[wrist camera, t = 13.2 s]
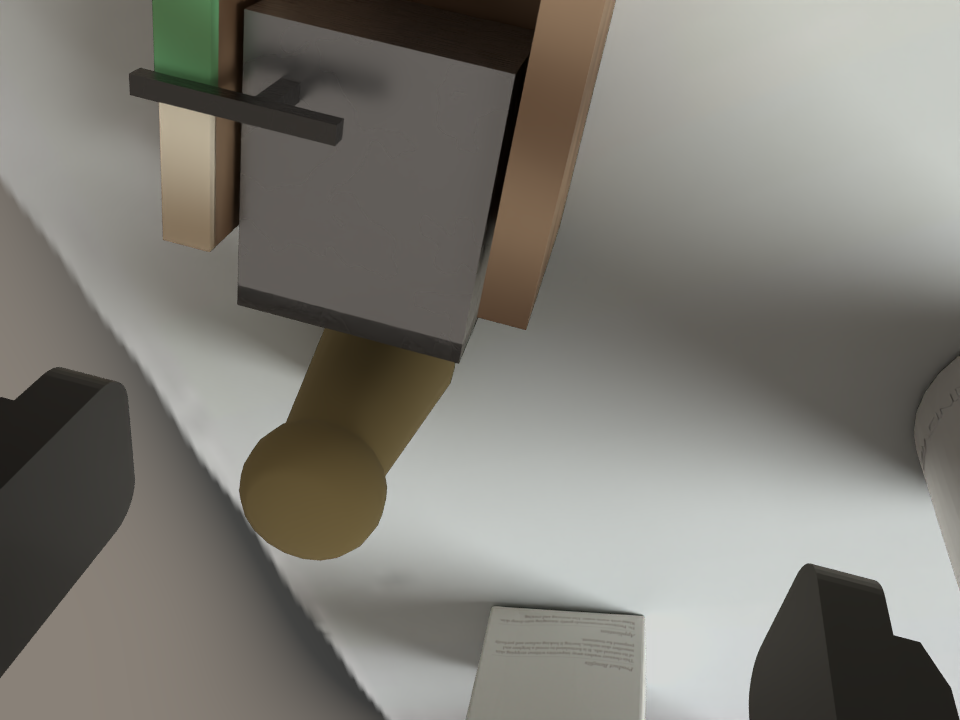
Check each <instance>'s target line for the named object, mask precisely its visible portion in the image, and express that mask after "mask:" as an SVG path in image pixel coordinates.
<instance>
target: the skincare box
mask: <svg viewBox="0 0 960 720" xmlns="http://www.w3.org/2000/svg"><path fill="white" fill-rule="evenodd" d="M645 712H646V637H645V618H644V616H637V615H620V614H603V613H588V612H573V611H557V610H542V609H527V608H511V607H499V606H493V607H492V609H491V612H490V615H489V619H488V624H487V628H486V633H485V637H484V642H483V646H482V651H481V656H480V660H479V664H478V669H477V673H476V677H475V682H474V686H473V691H472V695H471V699H470V704H469V708H468V712H467V716H466V720H645Z"/></svg>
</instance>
